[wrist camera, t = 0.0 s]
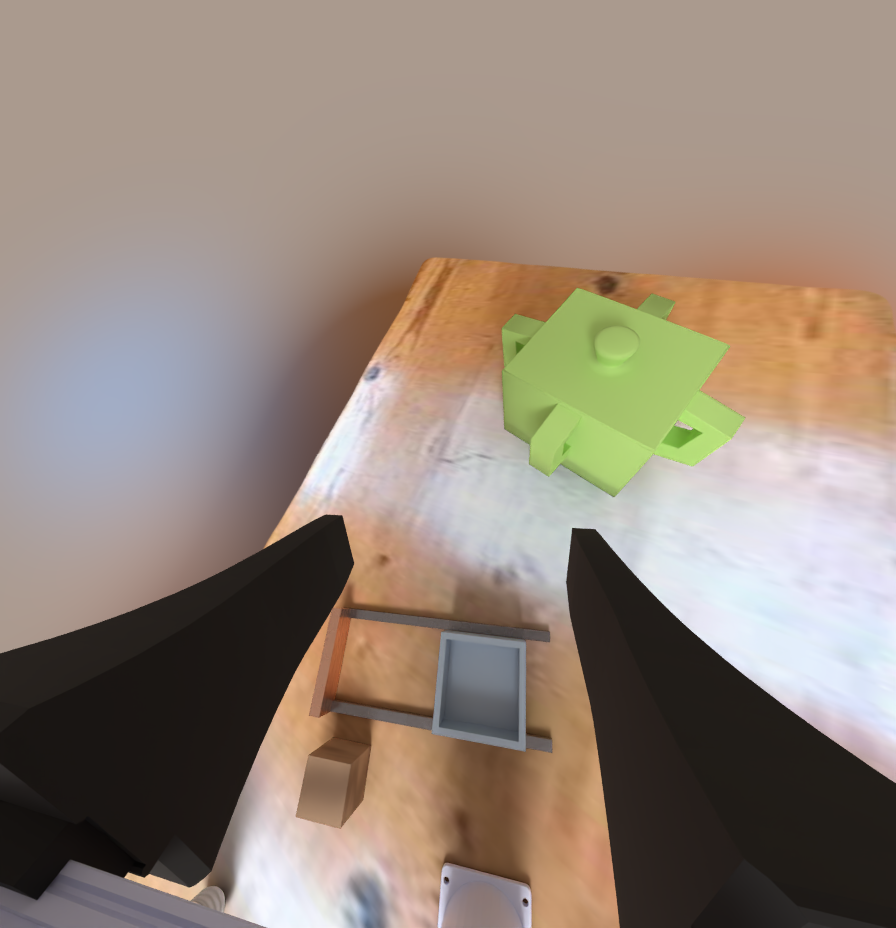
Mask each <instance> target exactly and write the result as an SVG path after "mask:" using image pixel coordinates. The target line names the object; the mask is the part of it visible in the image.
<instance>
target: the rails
mask: <svg viewBox="0 0 896 928" xmlns="http://www.w3.org/2000/svg"><path fill="white" fill-rule="evenodd" d="M351 618H356V619H365V620H373V621H381V622H389V623H397V624H406V625H414V626H422V627H430V628H438V629H447V630H455V631H463V632H471V633H479V634H488V635H496V636H504V637H512V638H520V639H529V640H537V641H545V642H550V632H549V631H540V630H531V629H523V628H514V627H505V626H497V625H488V624H479V623H471V622H462V621H454V620H445V619H436V618H428V617H419V616H410V615H402V614H393V613H385V612H376V611H367V610H359V609H350V608H332V611H331V616H330V620H329V625H328V629H327V634H326V639H325V643H324V648H323V653H322V657H321V662H320V667H319V671H318V676H317V680H316V685H315V690H314V694H313V699H312V704H311V708H310V713H309V716H313V717H318V718H319V717H321V716H323V715H325V714H327V713H328V712H330V711H331V712H336V713H342V714H347V715H352V716H358V717H363V718H368V719H374V720H379V721H384V722H390V723H395V724H401V725H406V726H411V727H417V728H422V729H427V730H432V725H433V717H431V716H425V715H420V714H414V713H408V712H403V711H397V710H391V709H386V708H380V707H375V706H369V705H363V704H358V703H352V702H346V701H341V700H335V697H336V692H337V687H338V681H339V676H340V671H341V666H342V661H343V655H344V650H345V645H346V640H347V635H348V630H349V624H350V619H351ZM526 748H529V749H535V750H540V751H545V752H551V753H552V738H549V737H543V736H538V735H532V734H526Z"/></svg>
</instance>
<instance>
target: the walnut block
mask: <svg viewBox="0 0 896 928" xmlns="http://www.w3.org/2000/svg"><path fill="white" fill-rule="evenodd" d="M370 750H371V745H368V744H363V743H358V742H353V741H348V740H343V739H338V738H332V739H331V740H329V741H328V742H326V743H325V744H324V745H322V746H321V747H319V748H318V749H316V750H315V751H314V752H312V753H311V754H309V755H308V760H307V765H306V769H305V774H304V779H303V784H302V789H301V793H300V798H299V803H298V808H297V813H296V817H298V818H302V819H305V820H309V821H313V822H317V823H320V824H324V825H328V826H332V827H336V828H339V829H341V827H342V826H343V825H344V823H345V822H346V821H347V820H348V818H349V817H350V816H351V815H352V813H353V812H354V811H355V810H356V808H357V807H358V806H359V804H360V803H361V802H362V801H363V797H364V790H365V784H366V777H367V770H368V764H369V757H370Z"/></svg>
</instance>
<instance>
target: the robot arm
mask: <svg viewBox="0 0 896 928" xmlns="http://www.w3.org/2000/svg"><path fill="white" fill-rule="evenodd" d="M353 565H354V561H353V557H352V553H351V549H350V545H349V541H348V536H347V532H346V528H345V524H344V520H343V516H342V515H324V516H322V517H320V518H318V519H316V520H314V521H312V522H310V523H308V524H306V525H305V526H303V527H301V528H299V529H298V530H296V531H294V532H293V533H291V534H289V535H287V536H286V537H284V538H282V539H280V540H279V541H277V542H275V543H273V544H272V545H270V546H268V547H266V548H265V549H263V550H261V551H259V552H258V553H256V554H254V555H252V556H250V557H248V558H246V559H245V560H243V561H241V562H239V563H237V564H235V565H234V566H232V567H230V568H228V569H226V570H224V571H222V572H220V573H218V574H216V575H214V576H212V577H210V578H208V579H206V580H204V581H201V582H199V583H197V584H195V585H193V586H191V587H188V588H186V589H184V590H182V591H179V592H177V593H175V594H172V595H170V596H167V597H165V598H162V599H160V600H158V601H155V602H153V603H150V604H148V605H145V606H143V607H140V608H138V609H135V610H133V611H130V612H127V613H125V614H122V615H119V616H117V617H114V618H111V619H108V620H105V621H103V622H100V623H97V624H94V625H91V626H88V627H85V628H82V629H79V630H76V631H73V632H70V633H67V634H64V635H61V636H58V637H55V638H51V639H48V640H44V641H41V642H38V643H35V644H31V645H28V646H24V647H21V648H17V649H14V650H10V651H7V652H4V653H0V928H266V927H263V926H260V925H257V924H255V923H252V922H249V921H246V920H243V919H240V918H237V917H234V916H232V915H229V914H226V913H223V912H220V911H217V910H214V909H211V908H209V907H206V906H203V905H200V904H197V903H194V902H191V901H188V900H185V899H183V898H180V897H177V896H174V895H171V894H168V893H165V892H162V891H160V890H157V889H154V888H151V887H148V886H145V885H142V884H139V883H137V882H134V881H131V880H128V879H125V878H124V877H125V876H126V874H127V873H128V872H129V873H132V874H135V875H138V876H141V877H144V878H145V877H146V876H147V875H148V874H151V875H154V876H157V877H160V878H163V879H166V880H169V881H172V882H175V883H178V884H181V885H184V886H187V887H192V886H194V885H196V884H197V883H199V882H200V881H201V880H202V879H204V878H205V877H206V876H207V875H208V874H209V873H210V872H211V871H212V868H213V865H214V863H215V860H216V857H217V854H218V851H219V849H220V846H221V843H222V841H223V838H224V836H225V833H226V830H227V828H228V825H229V823H230V820H231V817H232V815H233V812H234V809H235V807H236V804H237V802H238V799H239V796H240V794H241V791H242V789H243V787H244V784H245V782H246V779H247V777H248V775H249V772H250V770H251V768H252V765H253V763H254V760H255V758H256V756H257V753H258V751H259V748H260V746H261V744H262V742H263V739H264V737H265V735H266V733H267V730H268V728H269V726H270V724H271V722H272V719H273V717H274V715H275V713H276V711H277V708H278V706H279V704H280V702H281V700H282V698H283V696H284V694H285V692H286V690H287V688H288V685H289V683H290V681H291V679H292V677H293V675H294V673H295V671H296V669H297V668H298V666H299V664H300V662H301V660H302V659H303V657H304V655H305V653H306V652H307V650H308V648H309V647H310V645H311V643H312V642H313V640H314V638H315V637H316V635H317V633H318V632H319V630H320V629H321V627H322V625H323V624H324V622H325V620H326V619H327V617H328V615H329V614H330V612H331V610H332V608H333V607H334V605H335V603H336V602H337V600H338V598H339V596H340V595H341V593H342V591H343V589H344V587H345V584H346V582H347V580H348V578H349V575H350V573H351V570H352V568H353ZM566 584H567V593H568V602H569V611H570V618H571V622H572V627H573V631H574V635H575V640H576V644H577V648H578V653H579V657H580V661H581V666H582V670H583V674H584V679H585V683H586V687H587V692H588V696H589V700H590V705H591V711H592V716H593V721H594V728H595V735H596V742H597V749H598V756H599V763H600V770H601V777H602V785H603V792H604V800H605V807H606V815H607V822H608V830H609V839H610V847H611V855H612V863H613V871H614V880H615V888H616V896H617V905H618V914H619V923H620V928H896V783H894V782H893V781H891V780H890V779H888V778H887V777H885V776H884V775H882V774H881V773H879V772H878V771H876V770H875V769H873V768H872V767H870V766H869V765H868V764H866V763H865V762H863V761H862V760H860V759H859V758H857V757H856V756H855V755H853V754H852V753H850V752H849V751H847V750H846V749H844V748H843V747H842V746H840V745H839V744H837V743H836V742H834V741H833V740H831V739H830V738H829V737H827V736H826V735H824V734H823V733H821V732H820V731H818V730H817V729H816V728H814V727H813V726H812V725H810V724H809V723H807V722H806V721H805V720H803V719H802V718H801V717H799V716H798V715H796V714H795V713H794V712H792V711H791V710H789V709H788V708H787V707H785V706H784V705H783V704H781V703H780V702H779V701H777V700H776V699H775V698H774V697H772V696H771V695H770V694H768V693H767V692H766V691H764V690H763V689H762V688H760V687H759V686H758V685H757V684H755V683H754V682H753V681H751V680H750V679H749V678H747V677H746V676H745V675H743V674H742V673H741V672H740V671H738V670H737V669H736V668H735V667H734V666H732V665H731V664H730V663H729V662H727V661H726V660H725V659H724V658H722V657H721V656H720V655H719V654H718V653H716V652H715V651H714V650H713V649H712V648H711V647H709V646H708V645H707V644H706V643H705V642H704V641H702V640H701V639H700V638H699V637H698V636H697V635H695V634H694V633H693V632H692V631H691V630H690V629H689V628H688V627H686V626H685V625H684V624H683V623H682V622H681V621H680V620H679V619H678V618H677V617H676V616H675V615H674V614H672V613H671V612H670V611H669V610H668V609H667V608H666V607H665V606H664V605H663V604H662V603H661V602H660V601H659V600H658V599H657V598H656V597H655V596H654V595H653V594H652V593H651V592H650V591H649V590H648V588H647V587H646V586H645V585H644V584H643V583H642V582H641V581H640V580H639V579H638V578H637V577H636V576H635V575H634V573H633V572H632V571H631V570H630V569H629V568H628V567H627V566H626V565H625V563H624V562H623V561H622V560H621V559H620V558H619V557H618V555H617V554H616V553H615V552H614V551H613V550H612V548H611V547H610V546H609V545H608V544H607V542H606V541H605V540H604V539H603V538H602V536H601V535H600V534H599V533H598V532H597V531H596V530H595V529H580V528H572V535H571V544H570V553H569V562H568V571H567V580H566ZM444 877H448V878H449V881H448V882H447V881H445V878H444ZM524 898H526V899H527V900H528V903H524V902H523V899H524ZM438 928H531V889H530V887H529V886H528V884H526V883H522V882H518V881H515V880H511V879H507V878H503V877H500V876H496V875H492V874H489V873H485V872H481V871H477V870H474V869H470V868H466V867H462V866H459V865H455V864H451V863H445V864H444V865H443V868H442V874H441V887H440V901H439V914H438Z"/></svg>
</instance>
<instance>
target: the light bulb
mask: <svg viewBox="0 0 896 928" xmlns="http://www.w3.org/2000/svg"><path fill="white" fill-rule="evenodd" d="M191 902H194V903H197V904H200V905H203V906H206V907H209V908H211V909H214V910H217V911H220V912H223V913H224V908H225V896H224V893H223V891H222V890H221V889H220V888H218V887H216V886H210V887H207V888H205V889H203V890H202V891H201V892H200V893H199V894H198V895H196V896H195V897H194V898H193V899H192V900H191Z"/></svg>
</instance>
